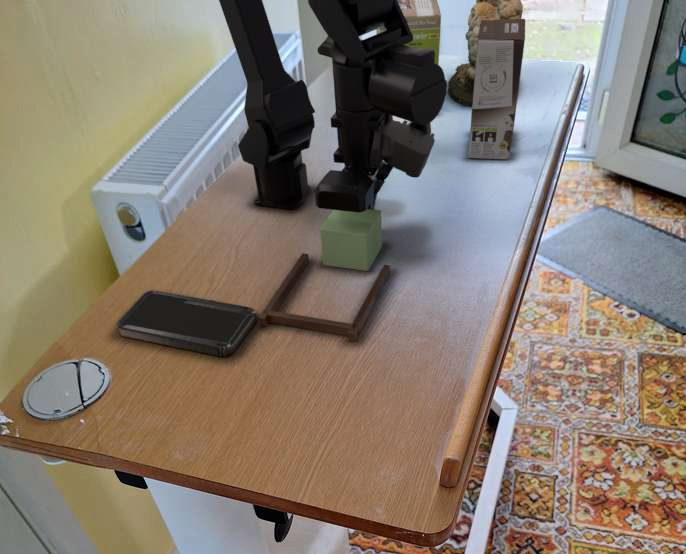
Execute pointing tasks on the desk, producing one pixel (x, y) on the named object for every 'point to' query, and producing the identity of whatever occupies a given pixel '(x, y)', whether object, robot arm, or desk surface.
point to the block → (351, 239)
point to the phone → (187, 322)
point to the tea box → (422, 24)
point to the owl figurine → (490, 5)
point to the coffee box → (496, 87)
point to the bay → (315, 323)
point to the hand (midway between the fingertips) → (365, 227)
